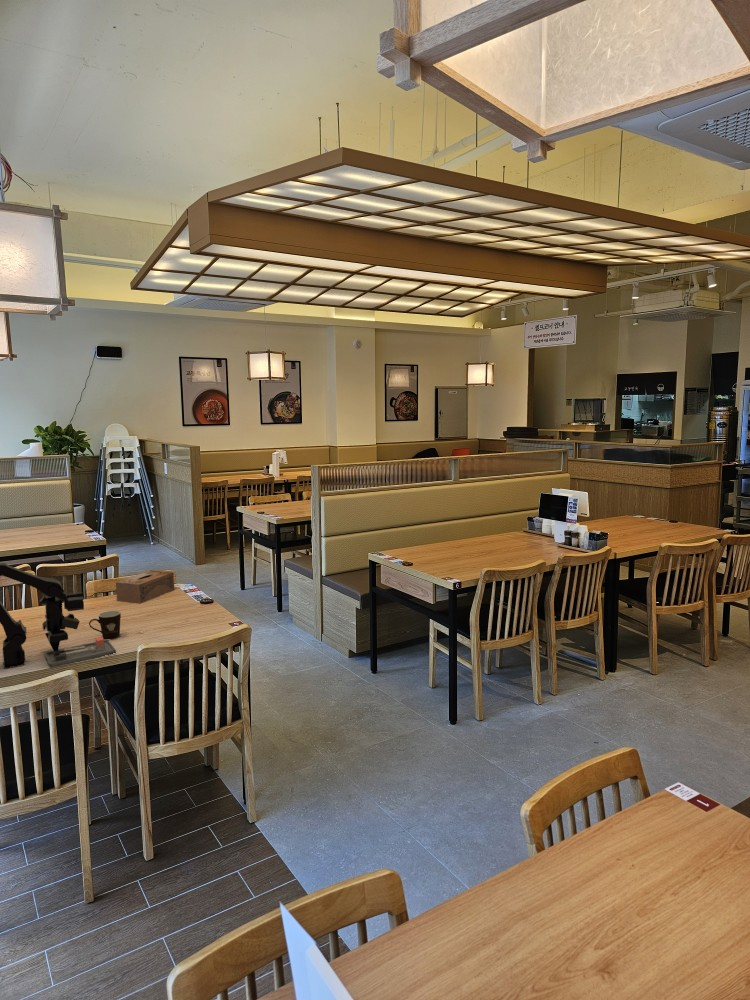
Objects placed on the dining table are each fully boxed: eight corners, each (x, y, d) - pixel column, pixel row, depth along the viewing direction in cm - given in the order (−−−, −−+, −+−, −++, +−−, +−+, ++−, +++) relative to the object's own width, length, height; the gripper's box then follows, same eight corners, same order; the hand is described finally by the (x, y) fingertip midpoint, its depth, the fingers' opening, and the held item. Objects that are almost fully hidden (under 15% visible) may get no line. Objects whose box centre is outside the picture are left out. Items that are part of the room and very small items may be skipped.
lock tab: (97, 646, 241) (97, 640, 241) (95, 644, 244) (95, 638, 244) (104, 645, 242) (103, 639, 242) (102, 642, 245) (101, 636, 245)
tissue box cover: (152, 588, 336) (151, 570, 335) (174, 590, 331) (173, 572, 329) (117, 601, 312) (115, 582, 311) (140, 604, 307) (138, 584, 306)
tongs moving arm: (54, 657, 237) (53, 651, 237) (54, 655, 239) (53, 649, 238) (85, 652, 241) (84, 647, 241) (85, 650, 243) (84, 645, 243)
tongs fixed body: (55, 661, 233) (55, 656, 232) (54, 658, 236) (53, 652, 236) (105, 651, 243) (105, 645, 242) (103, 647, 246) (103, 642, 246)
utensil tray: (49, 668, 229) (49, 663, 228) (44, 656, 240) (44, 652, 240) (116, 653, 242) (115, 649, 241) (108, 643, 253) (107, 639, 253)
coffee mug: (125, 633, 265) (123, 610, 264) (117, 640, 256) (116, 617, 255) (97, 633, 265) (96, 611, 263) (89, 641, 256) (87, 617, 255)
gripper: (82, 616, 235) (83, 655, 237) (72, 603, 250) (74, 640, 252) (49, 621, 228) (50, 661, 230) (41, 607, 243) (43, 645, 245)
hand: (55, 651), depth 240 cm, fingers closed
